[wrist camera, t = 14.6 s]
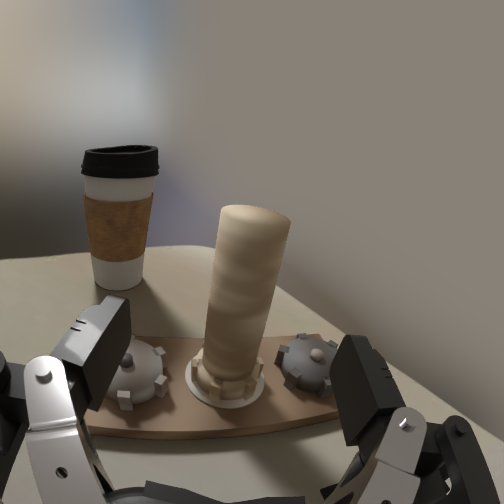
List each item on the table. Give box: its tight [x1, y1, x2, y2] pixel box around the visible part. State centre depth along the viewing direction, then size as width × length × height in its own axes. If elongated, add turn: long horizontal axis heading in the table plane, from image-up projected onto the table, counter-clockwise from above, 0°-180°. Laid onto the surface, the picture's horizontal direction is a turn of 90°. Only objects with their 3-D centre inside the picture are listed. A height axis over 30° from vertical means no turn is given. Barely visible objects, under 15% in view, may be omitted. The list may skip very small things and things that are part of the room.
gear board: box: [84, 333, 339, 440], centre depth 19 cm, size 20×9×3 cm, turn 105°
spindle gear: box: [191, 205, 291, 402], centre depth 17 cm, size 5×5×12 cm
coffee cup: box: [81, 145, 159, 291], centre depth 28 cm, size 8×8×15 cm
